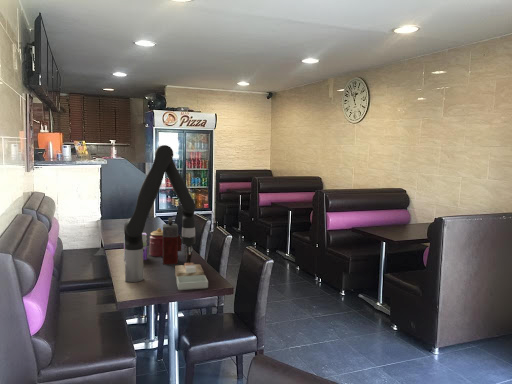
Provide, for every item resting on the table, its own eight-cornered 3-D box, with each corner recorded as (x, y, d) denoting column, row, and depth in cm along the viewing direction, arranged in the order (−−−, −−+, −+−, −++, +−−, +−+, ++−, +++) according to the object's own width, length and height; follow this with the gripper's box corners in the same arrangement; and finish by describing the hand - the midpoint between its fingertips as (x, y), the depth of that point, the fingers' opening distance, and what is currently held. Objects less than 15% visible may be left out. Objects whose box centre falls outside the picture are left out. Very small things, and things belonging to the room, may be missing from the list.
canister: (149, 257, 261) (149, 230, 259) (149, 252, 273) (149, 226, 271) (169, 256, 264) (169, 229, 262) (168, 251, 277) (168, 226, 275)
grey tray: (178, 290, 203) (178, 283, 202) (176, 283, 213) (176, 276, 213) (207, 288, 207) (208, 281, 206) (204, 281, 217) (204, 274, 217)
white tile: (186, 272, 214) (186, 268, 214) (185, 270, 219) (185, 265, 219) (195, 272, 216) (195, 267, 216) (194, 269, 221) (194, 265, 220)
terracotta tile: (185, 270, 219) (185, 265, 219) (184, 267, 224) (184, 263, 224) (194, 269, 221) (194, 265, 220) (193, 266, 225) (193, 262, 225)
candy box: (124, 261, 250) (124, 235, 248) (123, 259, 255) (123, 233, 253) (147, 259, 255) (147, 234, 253) (146, 257, 260) (146, 232, 259)
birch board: (177, 282, 214) (177, 273, 214) (175, 274, 228) (175, 265, 227) (203, 280, 218) (203, 271, 217) (200, 272, 231) (200, 264, 231)
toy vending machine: (181, 263, 248) (181, 218, 245) (163, 264, 246) (163, 219, 243) (180, 259, 257) (181, 216, 254) (162, 260, 254) (162, 216, 251)
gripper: (180, 232, 230) (180, 262, 232) (183, 238, 217) (182, 269, 219) (193, 232, 232) (193, 261, 234) (196, 237, 219) (196, 268, 221)
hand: (188, 265), depth 226 cm, fingers closed
